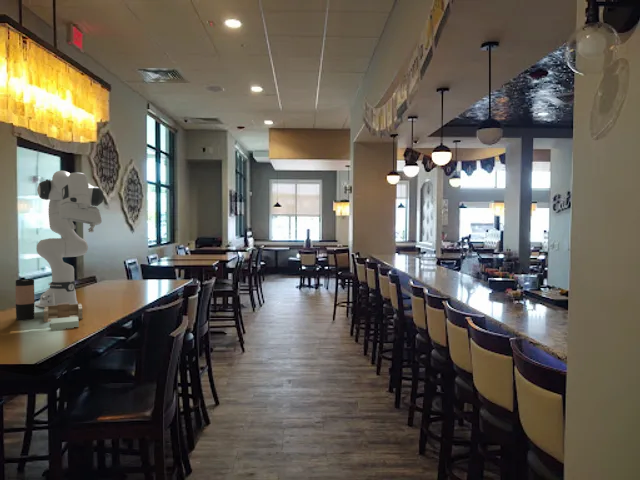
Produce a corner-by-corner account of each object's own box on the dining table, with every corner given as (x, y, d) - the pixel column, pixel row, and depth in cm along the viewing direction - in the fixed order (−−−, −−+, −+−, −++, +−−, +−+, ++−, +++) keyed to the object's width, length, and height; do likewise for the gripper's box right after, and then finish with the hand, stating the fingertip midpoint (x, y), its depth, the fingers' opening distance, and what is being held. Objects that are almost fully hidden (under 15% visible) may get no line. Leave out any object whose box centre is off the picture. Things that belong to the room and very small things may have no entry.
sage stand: (51, 325, 205) (51, 318, 205) (78, 322, 211) (78, 316, 211) (50, 330, 196) (50, 323, 196) (78, 327, 202) (78, 320, 201)
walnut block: (57, 317, 218) (57, 303, 218) (69, 316, 221) (69, 302, 220) (57, 319, 214) (57, 304, 214) (69, 318, 216) (69, 303, 216)
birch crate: (45, 317, 221) (45, 305, 221) (81, 314, 229) (81, 303, 229) (43, 324, 207) (43, 311, 207) (82, 320, 215) (82, 308, 215)
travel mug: (12, 321, 211) (11, 280, 211) (27, 318, 219) (27, 278, 218) (22, 323, 209) (22, 281, 208) (38, 319, 216) (37, 279, 215)
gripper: (94, 209, 223) (96, 235, 220) (55, 201, 205) (57, 229, 202) (103, 205, 221) (105, 231, 218) (64, 196, 203) (67, 225, 199)
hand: (82, 230), depth 210 cm, fingers open, 8 cm apart
